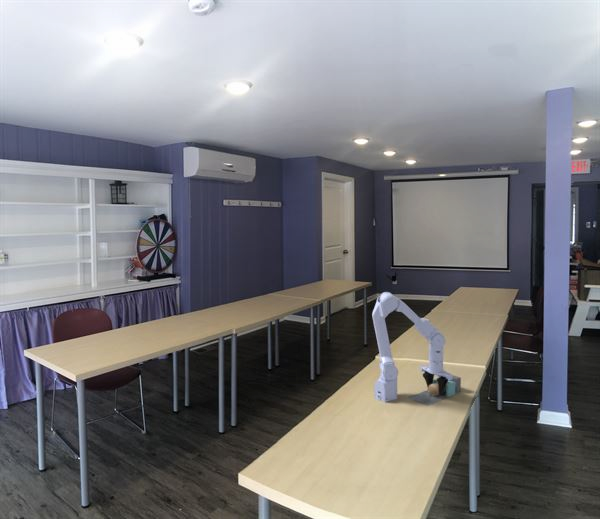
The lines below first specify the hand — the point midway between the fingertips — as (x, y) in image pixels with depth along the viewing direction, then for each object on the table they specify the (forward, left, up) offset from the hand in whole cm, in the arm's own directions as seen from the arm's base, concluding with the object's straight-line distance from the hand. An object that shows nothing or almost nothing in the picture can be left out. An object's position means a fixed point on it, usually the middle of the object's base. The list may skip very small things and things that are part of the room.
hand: (435, 391), depth 187 cm
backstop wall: (+11, +1, -2) cm, 11 cm away
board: (-1, +1, -2) cm, 3 cm away
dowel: (+2, 0, -1) cm, 2 cm away
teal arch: (+5, 0, -2) cm, 6 cm away
